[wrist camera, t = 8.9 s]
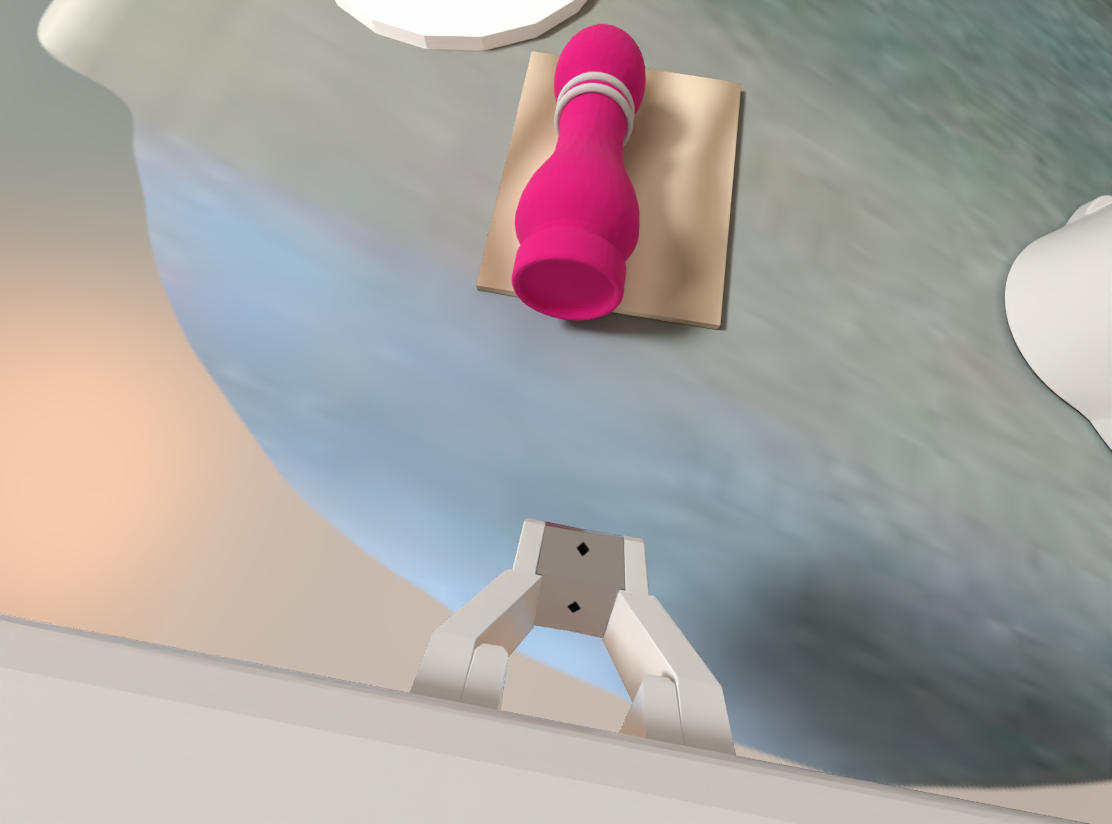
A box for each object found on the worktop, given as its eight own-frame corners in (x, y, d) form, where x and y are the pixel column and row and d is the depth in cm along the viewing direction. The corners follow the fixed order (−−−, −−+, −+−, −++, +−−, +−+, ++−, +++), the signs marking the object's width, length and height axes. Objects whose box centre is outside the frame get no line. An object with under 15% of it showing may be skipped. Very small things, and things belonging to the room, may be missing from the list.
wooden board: (737, 90, 33) (741, 83, 33) (716, 329, 28) (720, 325, 28) (531, 59, 33) (531, 51, 33) (477, 290, 29) (476, 285, 28)
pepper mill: (661, 294, 23) (683, 31, 29) (546, 227, 19) (598, -59, 25) (579, 337, 29) (611, 111, 34) (480, 291, 25) (534, 48, 31)
